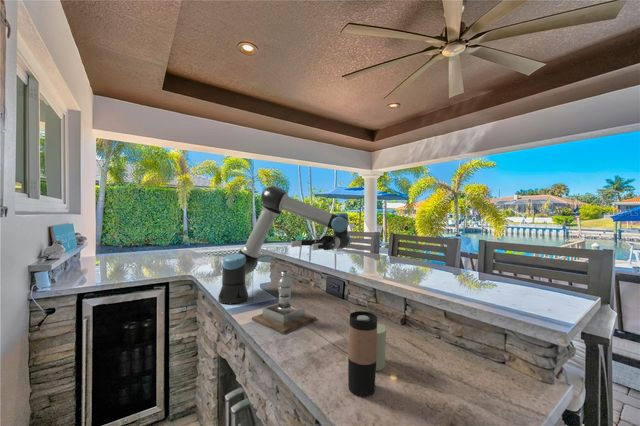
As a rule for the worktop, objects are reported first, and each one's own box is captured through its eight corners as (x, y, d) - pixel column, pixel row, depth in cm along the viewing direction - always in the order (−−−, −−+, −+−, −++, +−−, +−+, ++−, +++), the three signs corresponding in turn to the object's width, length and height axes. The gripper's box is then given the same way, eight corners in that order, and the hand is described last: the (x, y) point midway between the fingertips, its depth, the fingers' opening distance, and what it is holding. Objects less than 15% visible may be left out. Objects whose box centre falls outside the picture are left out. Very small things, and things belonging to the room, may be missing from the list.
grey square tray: (283, 309, 131) (284, 301, 131) (304, 317, 122) (305, 308, 122) (262, 317, 121) (262, 308, 121) (283, 326, 113) (283, 316, 112)
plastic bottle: (294, 315, 124) (295, 270, 124) (287, 320, 118) (288, 274, 118) (281, 313, 126) (282, 269, 126) (274, 318, 120) (275, 272, 120)
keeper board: (285, 308, 136) (285, 305, 136) (316, 319, 123) (316, 316, 123) (251, 320, 121) (251, 317, 121) (283, 334, 108) (283, 331, 108)
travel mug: (345, 380, 80) (347, 310, 79) (371, 379, 80) (373, 310, 80) (350, 398, 72) (352, 321, 72) (379, 397, 73) (381, 321, 72)
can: (383, 356, 93) (384, 321, 93) (387, 372, 84) (388, 333, 84) (355, 354, 94) (356, 319, 94) (356, 370, 85) (357, 331, 85)
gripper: (349, 252, 138) (322, 257, 121) (311, 247, 154) (283, 250, 137) (349, 237, 137) (322, 240, 121) (312, 233, 153) (283, 235, 137)
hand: (301, 245), depth 129 cm, fingers open, 13 cm apart
